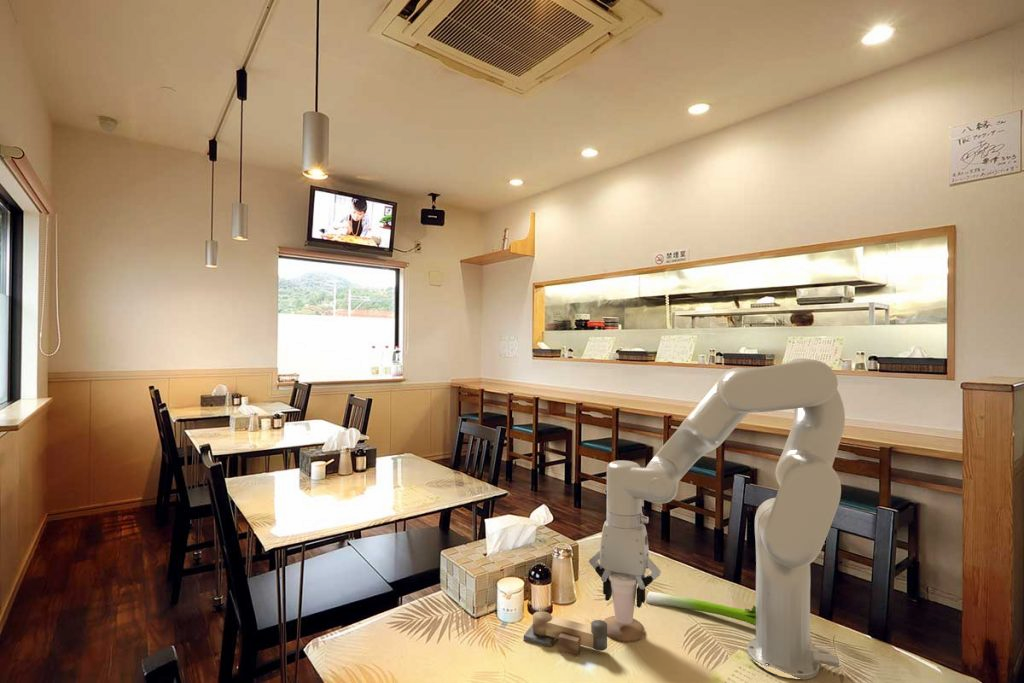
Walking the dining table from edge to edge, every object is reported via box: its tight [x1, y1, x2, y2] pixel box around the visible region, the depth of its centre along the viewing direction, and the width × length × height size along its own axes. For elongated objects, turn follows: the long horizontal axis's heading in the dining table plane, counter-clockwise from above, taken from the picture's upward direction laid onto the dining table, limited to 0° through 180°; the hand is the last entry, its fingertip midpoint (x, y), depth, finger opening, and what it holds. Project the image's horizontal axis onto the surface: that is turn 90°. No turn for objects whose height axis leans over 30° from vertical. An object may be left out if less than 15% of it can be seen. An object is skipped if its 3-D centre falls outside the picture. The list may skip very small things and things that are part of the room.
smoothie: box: [609, 571, 638, 624], centre depth 112 cm, size 6×6×14 cm
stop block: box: [557, 632, 581, 658], centre depth 104 cm, size 4×2×3 cm, turn 65°
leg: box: [532, 610, 608, 652], centre depth 106 cm, size 16×4×4 cm, turn 64°
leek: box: [645, 590, 756, 627], centre depth 117 cm, size 6×7×30 cm
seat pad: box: [603, 615, 645, 643], centre depth 112 cm, size 9×9×1 cm
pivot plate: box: [523, 623, 557, 648], centre depth 109 cm, size 6×6×1 cm
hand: (623, 600), depth 112 cm, fingers closed on smoothie, 6 cm apart
